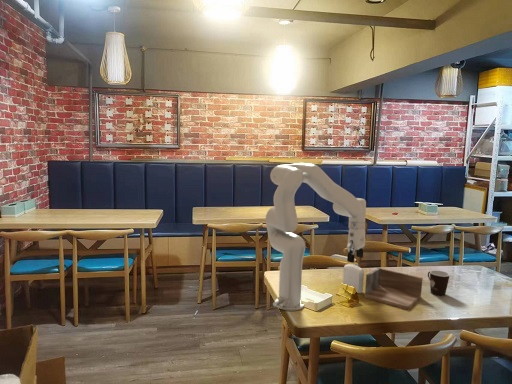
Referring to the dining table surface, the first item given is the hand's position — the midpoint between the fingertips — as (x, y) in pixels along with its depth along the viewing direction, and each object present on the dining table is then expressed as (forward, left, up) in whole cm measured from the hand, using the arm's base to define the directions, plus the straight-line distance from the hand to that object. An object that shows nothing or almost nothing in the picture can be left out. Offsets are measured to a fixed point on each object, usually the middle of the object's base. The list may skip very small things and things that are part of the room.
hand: (355, 259), depth 191 cm
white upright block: (-1, 0, -15) cm, 15 cm away
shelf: (+3, -18, -15) cm, 24 cm away
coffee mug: (+24, -32, -15) cm, 43 cm away
